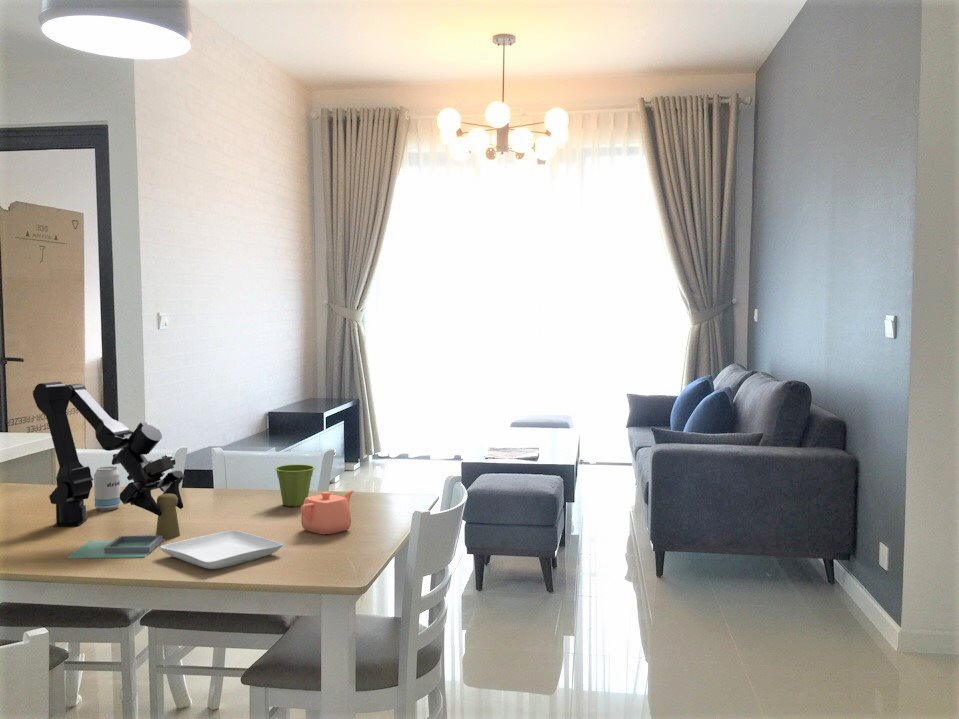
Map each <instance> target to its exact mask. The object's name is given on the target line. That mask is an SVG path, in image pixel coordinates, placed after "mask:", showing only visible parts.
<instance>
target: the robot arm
mask: <svg viewBox="0 0 959 719" xmlns="http://www.w3.org/2000/svg"><path fill="white" fill-rule="evenodd" d="M32 397H33V400H34V402H35V405H36V407H37V408H38V410H39V411H40V412H41V413H42V414H43V415H44V416H46V420H47V425H48V427H49V431H50V432H49V433H50V435H51V440H52V443H53V447H54V451H55V455H56V459H57V463H58V467H59V468H58V472H57V475H56V478H55V480H56V488H55V489H54V490H53V491H52V492H51V493H50V495H49V496H48V498H49V500H50V504H52V505H55V517H56V520H55V522H54V524H53V526H54V527H70V526H71V527H76V526H80V525H82V524H83V523H84V522H87V521H88V520H87V519H88V518H87V506H86V505H85V502H84V500H88V499H89V497H90V494H91V490H92V488H93V481H94V477H92V473H91V468H90V467H89V466H88V465H87V466H84V465H83V464H82V463H81V462H80V460H79V456H78V453H77V448H76V444H75V441H74V438H73V434H72V429H71V426H70V421H69V419H68V418H69V417H68V415H67V411H68V410H67V409H68V407H69V403H71V405H73V407H74V408H75V409H76V410H77V411H78V412H79V413H80V415H81V416H83V418H84V419H85V420H86V422H88V423H89V425H90V426H91V427H92V428H93V429H94V433H95V439H96V440H97V443H99V445H100V446H101V448H102V449H103V450H105V451H108V452H111V451H115V450H116V451H117V450H119V452H117V453H114V454H112V460H111V465H113V466H114V465H118V464H119V465H120V464H121V466H122V467H123V469H124V470H125V471H126V474H128V475H127V477H126V479H127V480H128V481H131V482H129V483H128V484H127V485H126V486H125V487H124V488H123V490H122V491H120V502H122V504H123V505H127V504H128V505H129V504H130V505H131V506H136V507H139V508H141V509H143V510H146V511H148V512H150V513H152V514H154V515H156V516H157V517H158V516H161V515H162V511H161V509H160V508H159V506H158V505H157V501H155V499H154V497H153V496H152V491H153V490H157V489H160V490H161V492H162V494H168V493H170V494H175V495H176V496H177V498H178V503H177V505H176V508H177V509H179V510H182V509H183V508H184V503H183V500H182V496H181V493H180V484H181V482H182V481H183V480H184V479H185V477H186V476H185V474H184V473H183V472H182V470H175V471H174V470H173V471H169V470H170V469H171V470H172V469H174V468H175V465H176V458H174V456H173V455H172V454H171V453H169V454H168V453H167V454H165V455H163V456H161V458H157V459H156V460H147V458H146V457H145V456H144V455H149V454H150V453H151V452H152V451H153V449H154V448H155V447H156V446H157V445H158V443H159V442H160V441H161V440H162V438H163V434H162V432H161V430H160V429H159V428H156V427H154V426H153V425H151V424H148V422H147V421H142V422H139V423H138V425H137V426H136V428H135V429H134V431H131V430H130V428H128V427H127V426H126V425H125V424H123V423H122V422H121V421H118V420H116V419H113V418H112V417H111V416H110V415H109V414H108V413H107V412H106V411H105V410H104V409H103V407H102V406H101V405H100V404H99V403H98V401H96V399H94V398H93V397H92V395H91V394H90V393H89V392H88V391H87V388H86V386H85V385H84V384H83V383H73V384H65V383H63V382H62V381H52V382H51V381H50V382H43V383H42V382H41V383H37V384H36V386H35V387H34V390H32ZM166 471H169V472H168V473H166V475H165V472H166ZM161 478H162V479H161ZM132 481H133V482H132Z"/></svg>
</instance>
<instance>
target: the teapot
mask: <svg viewBox="0 0 959 719" xmlns="http://www.w3.org/2000/svg"><path fill="white" fill-rule="evenodd" d="M354 492H355V490H354V489H353V490H348V491H347V492H346V493H345V494H344V497H343V496H341V495H336V494H331V492H330V491H322V492H321V494H317V495H312V496H308V497H307V498H305V501H304V505H302V506H300V508H299V509H300V512H301V520H300V521H301V527H302V529H303V530H305V531H307V532H311V533H314V534H320V535H321V534H323V535H322V536H325V535H324V534H328V535H331V534H336V533H339V532H344V531H346V530H349V529H350V527H351V525H352V516H351V510H350V503H351V502H350V500H351V496H352V495H353V493H354Z"/></svg>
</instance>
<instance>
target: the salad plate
mask: <svg viewBox="0 0 959 719" xmlns="http://www.w3.org/2000/svg"><path fill="white" fill-rule="evenodd" d="M283 546H284V543H283V542H282V543H281V542H280V541H279V542H278V541H275V540H272V539H269V538H266V537H263V536H259V535H256V534H252V533H248V532H245V531H241V530H236V529H230V530H225V531H221V532H215V533H211V534H207V535H202V536H201V535H200V536H196V537H192V538H188V539H187V538H186V539H184V540H180V541H176V542H171V543H166V544H163V545H160V546H159V548H160V550H161V551H162V552H163V553H165V554H166V555H168V556H171V557H173V558H176V559H179V560H181V561H184V562H186V563H189V564H192V565H194V566H198V567H201V568H204V569H207V570H208V569H209V570H219V569H223V568H228V567H232V566H236V565H240V564H242V563H246V562H247V563H248V562H251V561H255V560H257V559H260V558H264V557H267V556H269V555H272V554H275V553H276V552H278V551H279V550H281V548H282V547H283Z"/></svg>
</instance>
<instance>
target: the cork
mask: <svg viewBox="0 0 959 719" xmlns="http://www.w3.org/2000/svg"><path fill="white" fill-rule="evenodd" d="M156 503H157V505H158V506H159V508H160V509H161V511H162V515H161V516H158V515H157V522H156V531H155V535H163V540H171V539H176V538H178V537H180V536H181V532H180V524H179V519H178V512H177V506H176V505H177V503H178V498H177V496H176V495H175V494H170V493H168V494H163V493H162V494H159V495H158V496H157V498H156Z"/></svg>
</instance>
